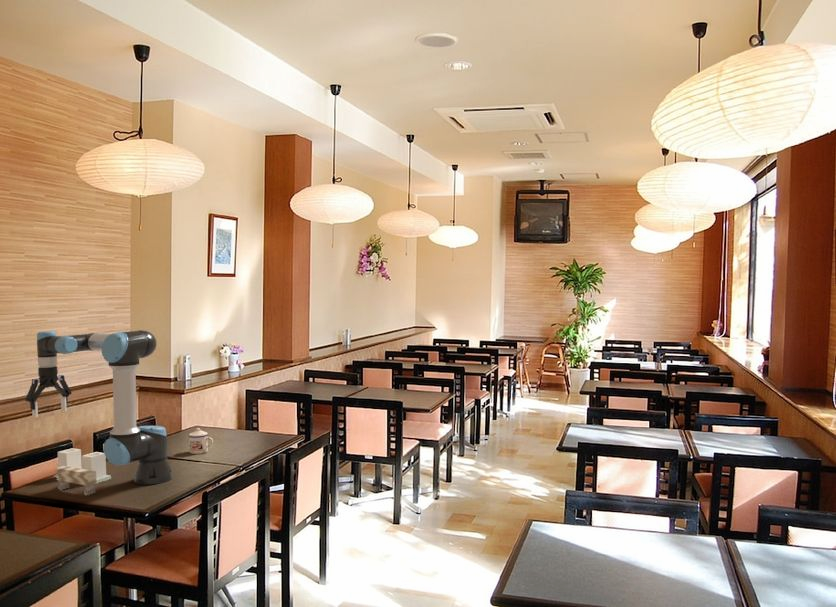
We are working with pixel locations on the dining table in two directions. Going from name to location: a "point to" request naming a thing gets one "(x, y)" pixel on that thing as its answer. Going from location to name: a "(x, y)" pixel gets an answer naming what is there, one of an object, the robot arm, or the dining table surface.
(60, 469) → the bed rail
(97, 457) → the twin white pillars base
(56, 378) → the robot arm
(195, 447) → the teacup with lid
